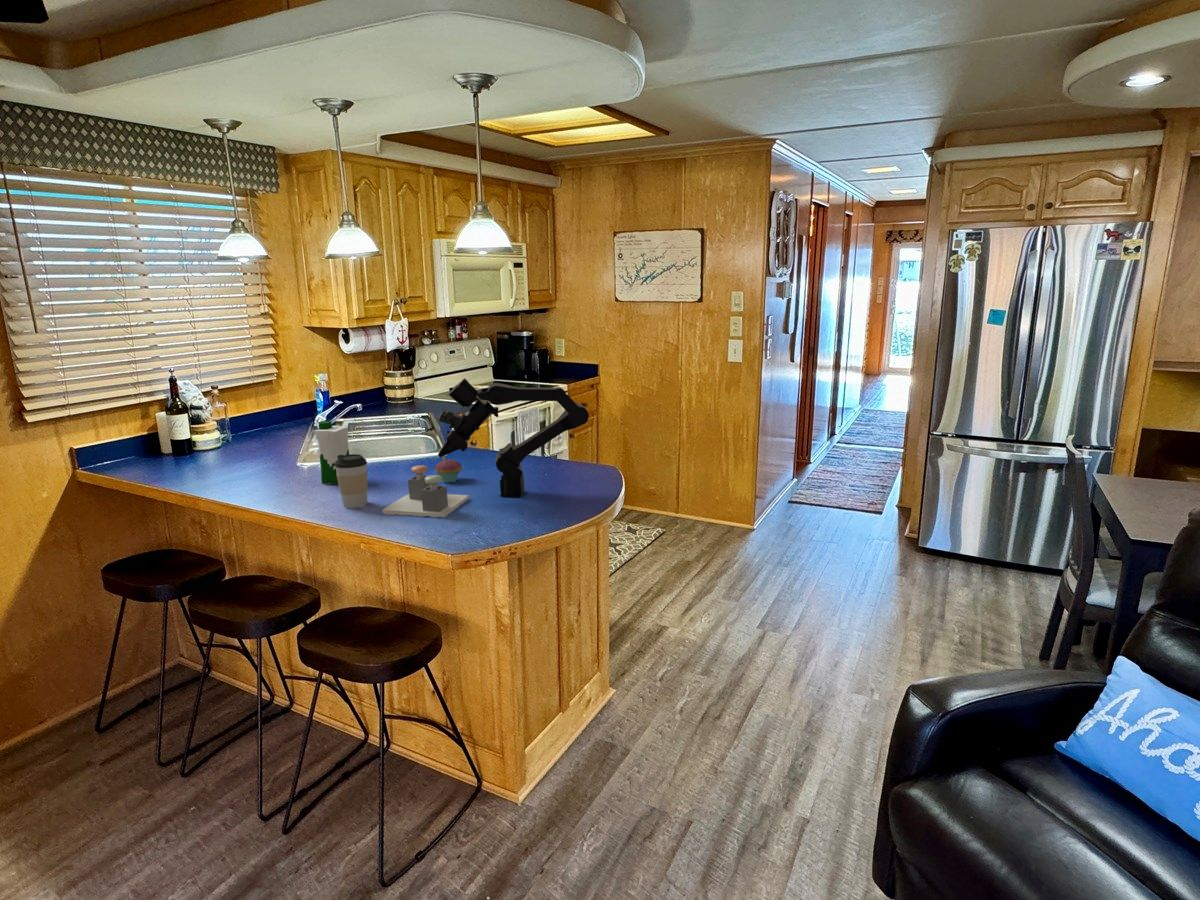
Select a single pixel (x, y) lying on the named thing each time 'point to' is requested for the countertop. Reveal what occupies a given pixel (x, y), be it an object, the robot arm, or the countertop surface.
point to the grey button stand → (425, 501)
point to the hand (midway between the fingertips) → (439, 456)
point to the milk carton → (331, 448)
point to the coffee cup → (352, 480)
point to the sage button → (433, 481)
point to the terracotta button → (419, 471)
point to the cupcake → (448, 470)
